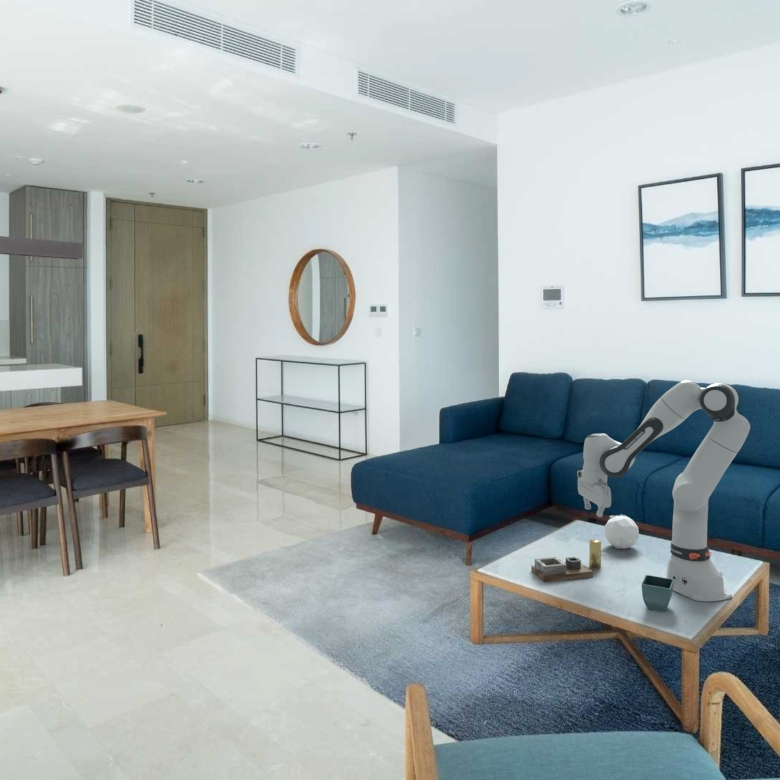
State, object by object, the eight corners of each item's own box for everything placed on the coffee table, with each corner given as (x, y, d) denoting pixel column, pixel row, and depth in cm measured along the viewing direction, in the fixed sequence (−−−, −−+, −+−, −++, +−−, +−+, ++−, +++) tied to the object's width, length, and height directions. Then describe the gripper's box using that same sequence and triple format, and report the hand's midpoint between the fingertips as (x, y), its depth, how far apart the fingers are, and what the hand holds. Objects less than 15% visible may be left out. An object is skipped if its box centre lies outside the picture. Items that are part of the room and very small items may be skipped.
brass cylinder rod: (603, 568, 257) (603, 542, 256) (592, 569, 256) (593, 543, 255) (597, 564, 261) (597, 538, 260) (587, 565, 260) (587, 539, 259)
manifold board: (592, 576, 249) (593, 563, 249) (544, 582, 245) (544, 568, 245) (578, 566, 260) (578, 553, 259) (531, 571, 256) (531, 558, 255)
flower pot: (670, 616, 216) (670, 588, 215) (640, 610, 220) (641, 583, 219) (673, 605, 224) (674, 579, 223) (645, 600, 228) (645, 574, 227)
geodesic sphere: (592, 536, 277) (615, 511, 272) (596, 526, 289) (617, 502, 285) (622, 560, 273) (645, 536, 269) (625, 549, 286) (646, 525, 281)
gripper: (616, 483, 246) (615, 520, 247) (590, 469, 266) (589, 504, 268) (600, 483, 245) (598, 521, 246) (575, 470, 265) (574, 505, 266)
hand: (593, 512), depth 257 cm, fingers open, 8 cm apart
